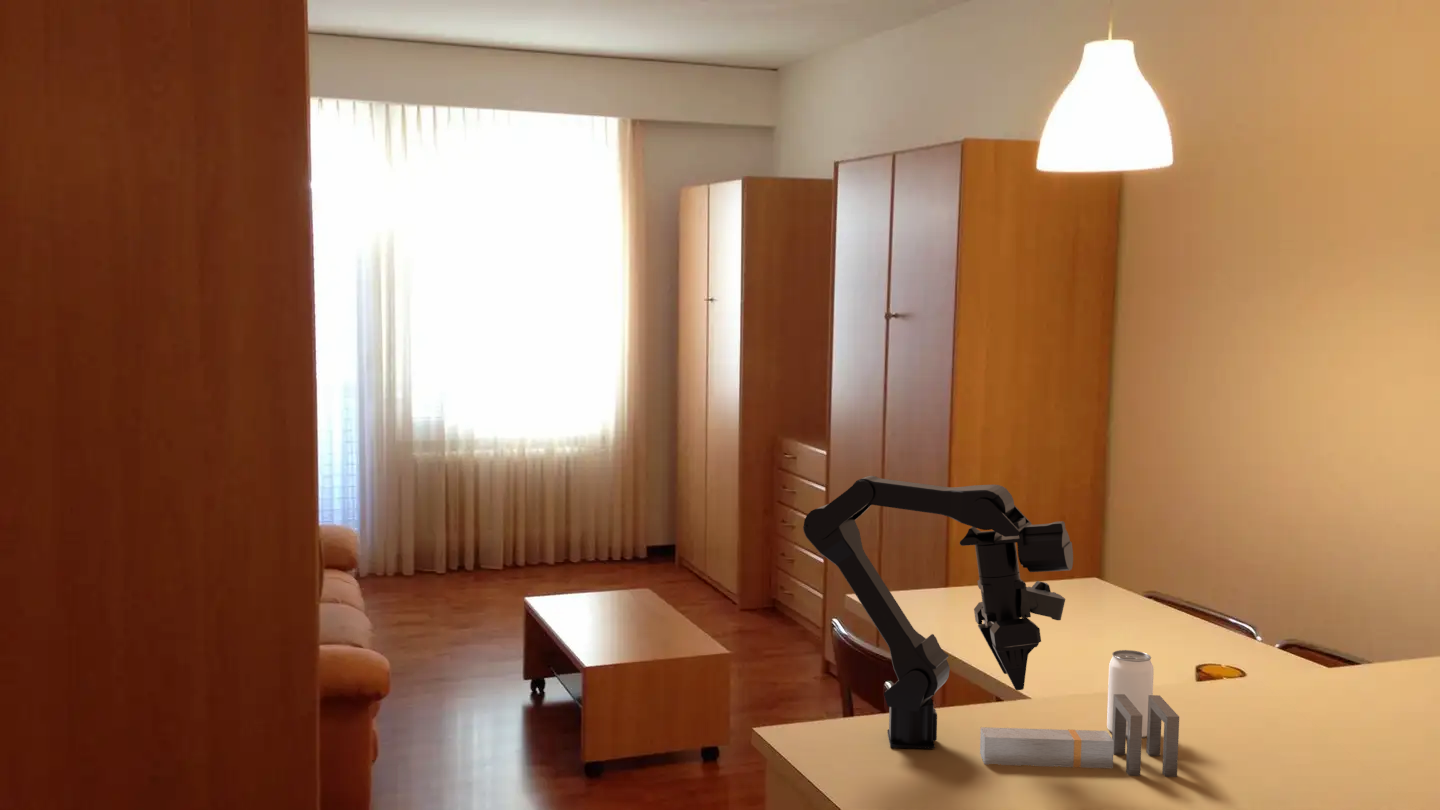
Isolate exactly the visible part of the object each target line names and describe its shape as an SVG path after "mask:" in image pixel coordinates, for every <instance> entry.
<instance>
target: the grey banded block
mask: <svg viewBox="0 0 1440 810" xmlns="http://www.w3.org/2000/svg"><path fill="white" fill-rule="evenodd" d="M979 740H980V743H979V746H980V747H979V755H980V754H981V755H980V757H981V759H983V760H982V762H983V764H984V765H989V764H998V765H997V766H1021V765H1028V767H1029V765H1031V766H1030V767H1053V768H1055V767H1058V766H1060V767H1059V768H1089V769H1090V768H1091V769H1092V768H1093V769H1114V754H1113V749H1114V741H1113V739H1112V736H1111V735H1110V734H1109V732H1108V731H1107V730H1086V729H1084V730H1083V729H1081V730H1080V729H1052V728H1050V729H1049V728H1048V729H1047V728H1024V727H1023V728H1020V727H1019V728H1018V727H987V726H986V727H984V726H983V727H982V726H981V727H980V739H979ZM1000 764H1001V765H1000ZM1033 765H1034V766H1033ZM1054 766H1055V767H1054Z"/></svg>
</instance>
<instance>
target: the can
mask: <svg viewBox="0 0 1440 810" xmlns="http://www.w3.org/2000/svg"><path fill="white" fill-rule="evenodd" d="M1151 659H1152V657H1151V655H1150V654H1148V653H1145V652H1142V651H1138V650H1131V649H1130V650H1129V649H1120V650H1115V651H1113V652H1112V657H1111V659H1110V661H1109V664H1108V685H1107V711H1106V713H1107V714H1106V715H1107V716H1106V717H1107V718H1106V727H1107V730H1108V731H1109V732H1110V733H1111V734H1112V726H1113V698H1114V694H1125V695H1126V697H1127V698H1128V699H1129V700H1130V701H1131V703H1132V704H1133V705H1134V706H1135V707H1136V708H1137V710H1138V711H1139V712H1140V713H1141V714H1142V716H1143V717H1142V739H1144V738H1147V737H1146V736H1147V721H1148V695H1154V694H1153V693H1154V670H1155V669H1154V665H1153V663H1152V661H1151ZM1127 731H1128V721H1127V720H1126V739H1127Z"/></svg>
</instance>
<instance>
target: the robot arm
mask: <svg viewBox="0 0 1440 810" xmlns="http://www.w3.org/2000/svg"><path fill="white" fill-rule="evenodd" d="M871 506H879V507H885V508H893V509H897V510H898V509H900V510H906V511H912V512H913V511H914V512H921V513H929V514H935V515H940V516H941V515H942V516H945V517H948V518H950V519H953V520H954V521H957V522H958V523H961V524H963V525H966V526H970V527H969V528H968V529H967V533H966V534H965V536H964V537H963V538H962V539H961V540H960V541H959V545H960V546H962V547H963V546H974V548H975V549H974V550H975V556H976V564H977V565H976V566H977V571H978V572H977V573H978V580H977V587H978V589H980V595H981V601H978V603H977V604H976V606H975V607H974V608H973V612H974V619H975V622H976V624H977V627H978V629H979V631H980V633H981V634H982V636H983V637H984V640H985V641H986V644H987V646H988V647H989V649H990V651H991V653H992V654H993V657H994V658H995V661H996V662H997V665H999V667H1000V669H1001V671H1002V673H1003V674H1004V675H1007V676H1008V679H1009V680H1010V682H1011V684H1012V685H1013V687H1014V690H1015V691H1023V690H1024V689H1025V688H1024V687H1025V681H1026V680H1025V679H1026V672H1027V667H1028V666H1027V664H1028V657H1029V654H1030V653H1031V652H1032V651H1033V650H1034V649H1035V648H1037V647H1039V644H1040V643H1041V642H1042V637H1041V636H1042V635H1041V629H1040V627H1039V626H1038V625H1037V624H1036V623H1034V622H1033V621H1032V620H1031V619H1029V618H1031V616H1032V615H1031V614H1033V615H1038V616H1044V617H1048V618H1051V619H1052V620H1055V621H1061V620H1062V617H1063V612H1064V607H1065V603H1066V598H1065V597H1063V595H1061V594H1059V593H1057V592H1055V591H1053V592H1052V591H1051V588H1050V585H1049V584H1048V583H1047V582H1044V581H1039V580H1036V581H1035V583H1034V584H1033V585H1032V586H1027V584H1026V582H1025V581H1024V580H1023V579H1022V578H1021V573H1020V566H1019V563H1020V565H1021V566H1022V568H1024V569H1027V571H1028V572H1029V573H1041V572H1044V573H1045V572H1061V571H1063V572H1064V571H1071V570H1072V569H1073V566H1074V565H1073V564H1074V550H1073V542H1072V541H1070V540H1071V539H1070V535H1069V533H1068V531H1067V529H1066V522H1064V520H1063V521H1053V522H1051V523H1041V524H1040V523H1039V524H1032V522H1031V520H1030V519H1028V518H1027V517H1026V516H1025V514H1024V513H1023V512H1022V511H1021V510H1020V509H1019V508H1018V507H1017V506H1016V505H1015V501H1014V498H1013V495H1012V494H1011V492H1010V491H1009V490H1008V489H1007V488H1006V487H1004V486H1003V485H1000V484H979V485H978V484H976V485H974V484H973V485H966V486H957V487H953V486H952V487H950V486H949V487H948V486H941V485H933V484H927V483H926V484H925V483H918V482H910V481H903V480H895V479H888V478H881V477H878V476H875V475H868V476H865V477H862V478H859V479H858V480H856V481H855V482H854V483H853V484H852V485H851V486H850V487H849V488H848V489H846V490H845V491H844V492H843V493H841V494H840V495H839V496H837V497H836V498H835V499H833V500H832V501H831V502H829V503H827V504H825V505H822V506H819V507H818V508H817V507H816V508H814V509H812V510H810V511H809V512H808V513H807V515H805V518H804V521H803V526H802V530H803V533H804V536H805V538H806V539H807V540H808V541H809V542H810V543H811V545H813V547H814V548H815V549H816V550H817V551H818V553H819V554H821V556H823V557H825V558H826V559H827V560H828V561H830V562H831V563H833V564H834V565H835V566H836V567H837V568H838V570H839V571H840V572H841V574H842V577H844V579H845V581H846V582H847V584H848V585H849V587H850V589H851V590H852V592H853V593H854V594H855V596H856V597H857V599H858V601H859V603H860V604H861V606H862V608H863V609H864V610H865V612H866V613H867V615H868V616H869V618H870V619H871V621H872V622H873V625H875V627H876V629H877V631H878V632H879V634H880V635H881V637H882V639H883V640H884V641H885V643H886V644H887V647H888V648H889V654H890V658H891V664H892V666H893V667H892V668H893V670H894V671H893V672H894V673H895V675H896V678H897V681H896V682H895V683H894V684H891V686H890V687H889V688H887V689H886V691H884V693H883V696H884V699H885V702H886V705H887V708H889V709H888V712H889V713H888V714H889V716H888V721H889V722H888V725H889V726H888V729H887V730H886V731H887V732H886V733H887V738H888V743H889V747H890V748H896V749H897V748H900V749H931V750H932V749H935V742H936V741H937V737H938V712H937V710H936V708H934V703H933V699H932V697H933V696H935V694H936V693H937V692H938V690H939V689H941V688H942V686H944V685H945V683H946V682H947V681H948V679H949V675H950V671H951V669H950V664H949V662H948V660H947V659H948V658H949V657H950V656H949V654H948V653H946V652H945V651H944V650H943V649H942V647H941V646H940V643H939V642H938V639H937V637H936V636H935V634H933V633H931V634H930V635H929V636H927V637H924V636H923V635H922V634H921V633H919V632H918V631H917V630H916V629H915V628H914V627H913V625H912V624H911V622H910V621H909V619H908V618H907V616H906V614H905V613H904V611H903V609H902V608H901V606H900V605H899V604H898V602H897V600H896V599H895V597H894V596H893V594H892V593H891V591H890V590H889V588H888V586H887V585H886V583H885V582H884V580H883V579H882V577H881V575H880V574H879V572H878V571H877V569H876V568H875V566H874V565H873V563H872V562H871V559H869V557H868V555H867V554H866V553H865V550H864V548H863V542H862V538H861V533H860V529H859V527H858V525H857V522H856V520H857V519H859V517H861V516H862V515H863V514H864V513H865V512H866V511H868V510H869V508H870V507H871ZM981 530H982V531H981Z"/></svg>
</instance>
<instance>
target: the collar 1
mask: <svg viewBox="0 0 1440 810" xmlns="http://www.w3.org/2000/svg"><path fill="white" fill-rule="evenodd" d="M1142 717H1143V716H1142V714H1141V713H1140V712H1139V711H1138V710H1137V708H1136V707H1135V706H1134V705H1133V704H1132V703H1131V701H1130V700H1129V699H1128V698H1127V697H1126V695H1125V694H1114V698H1113V726H1112V733H1111V738H1112V739H1113V741H1114V749H1113V756H1114V755H1117V756H1118V755H1119V756H1120V755H1121V756H1123V755H1124V756H1125V755H1126V761H1125V764H1126V765H1125V772H1126V774H1127V776H1136V777H1137V776H1139V777H1140V776H1141V767H1142V766H1141V765H1142V763H1141V762H1142V744H1143V743H1142V742H1143V741H1142V739H1143V738H1142ZM1126 720H1127V721H1128V731H1127V738H1126Z"/></svg>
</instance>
